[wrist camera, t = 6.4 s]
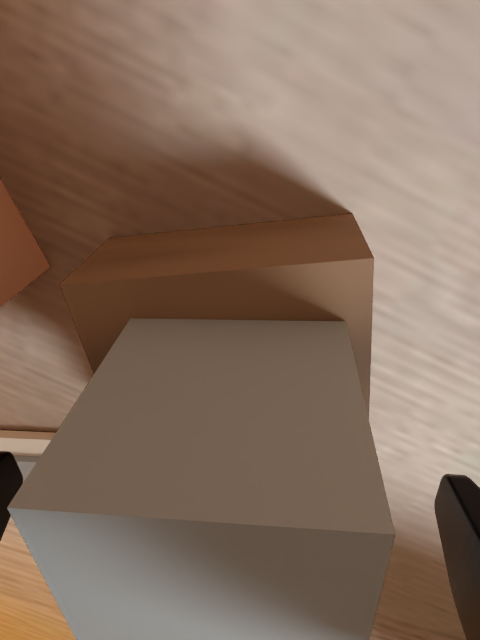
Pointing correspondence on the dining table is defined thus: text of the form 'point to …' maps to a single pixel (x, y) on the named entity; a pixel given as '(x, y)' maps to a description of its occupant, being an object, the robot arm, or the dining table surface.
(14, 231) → the terracotta cube
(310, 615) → the grey cube
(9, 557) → the dining table surface
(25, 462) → the swatch
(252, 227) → the brown square block
